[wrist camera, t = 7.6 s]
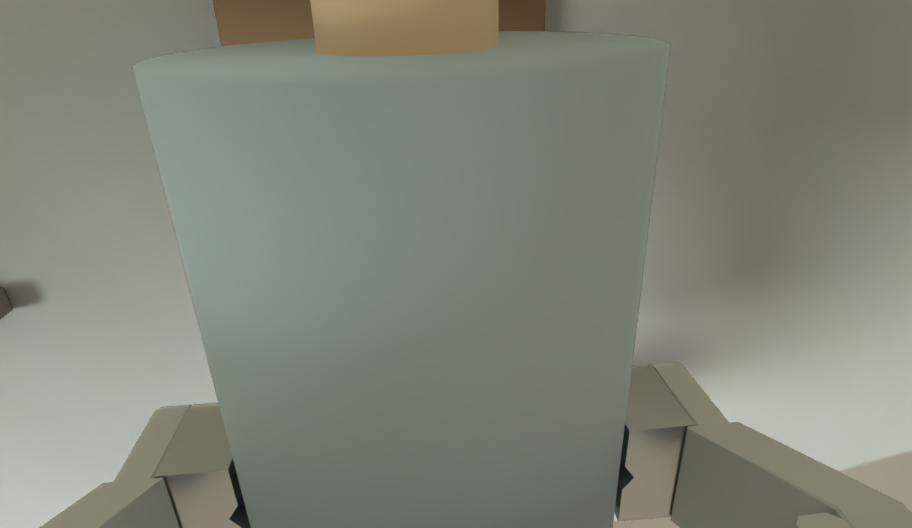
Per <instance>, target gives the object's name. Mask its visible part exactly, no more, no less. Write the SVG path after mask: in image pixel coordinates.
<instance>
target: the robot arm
mask: <svg viewBox="0 0 912 528" xmlns="http://www.w3.org/2000/svg"><path fill="white" fill-rule="evenodd" d="M614 512H615V514H616V517H617V519H618V521H627V520H640V519H653V518H665V517H671V520H672V521H673V522H674V523H675V524H676V525H678V526H679V527H680V528H912V512H911V511H910V510H909V509H908V508H907V507H906V506H905V505H904V504H903V503H902V502H900V501H898V500H896V499H894V498H892V497H890V496H888V495H886V494H883V493H882V492H879V491H877V490H875V489H873V488H871V487H869V486H867V485H865V484H863V483H861V482H859V481H857V480H855V479H853V478H851V477H849V476H847V475H845V474H843V473H841V472H839V471H837V470H835V469H833V468H831V467H829V466H827V465H825V464H823V463H821V462H819V461H816V460H814V459H812V458H810V457H808V456H806V455H804V454H802V453H800V452H798V451H796V450H794V449H792V448H790V447H788V446H786V445H784V444H782V443H780V442H778V441H776V440H774V439H772V438H770V437H768V436H766V435H764V434H762V433H760V432H758V431H756V430H753V429H751V428H749V427H747V426H745V425H743V424H741V423H739V422H734V423H729V422H728V420H727V419H726V418H725V417H724V415H723V414H722V413H721V412H720V410H719V409H718V408H717V407H716V405H715V404H714V403H713V402H712V401H711V399H710V398H709V397H708V396H707V394H706V393H705V392H704V391H703V389H702V388H701V387H700V386H699V384H698V383H697V382H696V381H695V379H694V378H693V377H692V376H691V374H690V373H689V372H688V371H687V370H686V368H685V367H684V366H683V365H682V364H680V363H678V362H671V363H663V364H654V365H648V366H645V367H634V368H632V370H631V378H630V387H629V395H628V403H627V411H626V420H625V428H624V436H623V445H622V453H621V461H620V470H619V478H618V486H617V495H616V503H615V511H614ZM40 528H250V524H249V520H248V516H247V512H246V508H245V504H244V500H243V496H242V492H241V489H240V485H239V481H238V477H237V473H236V469H235V465H234V461H233V457H232V453H231V450H230V446H229V442H228V438H227V434H226V430H225V426H224V422H223V418H222V414H221V411H220V407H219V403H205V404H194V405H179V406H167V407H161V408H159V409H158V410H156V411H155V412H154V413H153V415H152V416H151V418H150V420H149V422H148V423H147V425H146V427H145V429H144V430H143V432H142V434H141V435H140V437H139V439H138V441H137V442H136V444H135V446H134V448H133V449H132V451H131V453H130V454H129V456H128V458H127V460H126V461H125V463H124V465H123V467H122V468H121V470H120V472H119V473H118V475H117V477H116V479H115V480H114V482H110V483H103V484H101V485H100V486H98V487H97V488H96V489H94V490H93V491H91V492H90V493H88V494H87V495H86V496H84V497H83V498H81V499H80V500H78V501H77V502H76V503H74V504H73V505H71V506H70V507H68V508H67V509H66V510H64V511H63V512H61V513H60V514H58V515H57V516H56V517H54V518H53V519H51V520H50V521H48V522H47V523H46V524H44V525H43V526H41V527H40Z"/></svg>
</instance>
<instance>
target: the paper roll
mask: <svg viewBox="0 0 912 528" xmlns="http://www.w3.org/2000/svg"><path fill="white" fill-rule="evenodd" d="M310 2H311V10H312V18H313V26H314V34H315V38H307V39H294V40H281V41H269V42H259V43H248V44H238V45H229V46H220V47H212V48H204V49H197V50H190V51H183V52H177V53H172V54H166V55H162V56H157V57H152V58H149V59H146V60H142V61H140V62H138V63H136V64H134V66H133V71H134V75H135V79H136V83H137V87H138V91H139V95H140V99H141V103H142V106H143V110H144V114H145V118H146V122H147V126H148V130H149V134H150V138H151V142H152V145H153V149H154V153H155V157H156V161H157V165H158V169H159V173H160V177H161V181H162V184H163V188H164V192H165V196H166V200H167V204H168V208H169V212H170V216H171V220H172V223H173V227H174V231H175V235H176V239H177V243H178V247H179V251H180V255H181V258H182V262H183V266H184V270H185V274H186V278H187V282H188V286H189V290H190V294H191V297H192V301H193V305H194V309H195V313H196V317H197V321H198V325H199V329H200V333H201V336H202V340H203V344H204V348H205V352H206V356H207V360H208V364H209V368H210V372H211V375H212V379H213V383H214V387H215V391H216V395H217V399H218V403H219V407H220V411H221V414H222V418H223V422H224V426H225V430H226V434H227V438H228V442H229V446H230V450H231V453H232V457H233V461H234V465H235V469H236V473H237V477H238V481H239V485H240V489H241V492H242V496H243V500H244V504H245V508H246V512H247V516H248V520H249V524H250V528H613V520H614V511H615V503H616V495H617V486H618V478H619V470H620V461H621V453H622V445H623V436H624V428H625V420H626V411H627V403H628V395H629V387H630V378H631V370H632V362H633V353H634V345H635V337H636V328H637V320H638V312H639V303H640V295H641V287H642V278H643V270H644V262H645V253H646V245H647V237H648V228H649V220H650V212H651V203H652V195H653V187H654V178H655V170H656V162H657V153H658V145H659V137H660V128H661V120H662V112H663V103H664V95H665V87H666V78H667V70H668V62H669V54H670V44H669V43H667V42H665V41H662V40H658V39H653V38H648V37H640V36H632V35H621V34H607V33H588V32H557V31H499V0H310Z"/></svg>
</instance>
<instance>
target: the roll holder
mask: <svg viewBox="0 0 912 528" xmlns="http://www.w3.org/2000/svg"><path fill="white" fill-rule="evenodd" d="M213 4H214V10H215V15H216V20H217V25H218V30H219V36H220V41H221V46H229V45H238V44H248V43H259V42H269V41H281V40H294V39H307V38H315V34H314V26H313V18H312V10H311V2H310V0H213ZM544 25H545V0H499V31H544Z"/></svg>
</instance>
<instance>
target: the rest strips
mask: <svg viewBox="0 0 912 528" xmlns="http://www.w3.org/2000/svg"><path fill="white" fill-rule="evenodd" d="M11 310H12V307H11V305H10V303H9V300H8V298H7V295H6V293H5V290H4V288H0V320H1V319H2V318H3V317H4V316H5V315H7V314H8V313H9V312H10V311H11Z"/></svg>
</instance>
